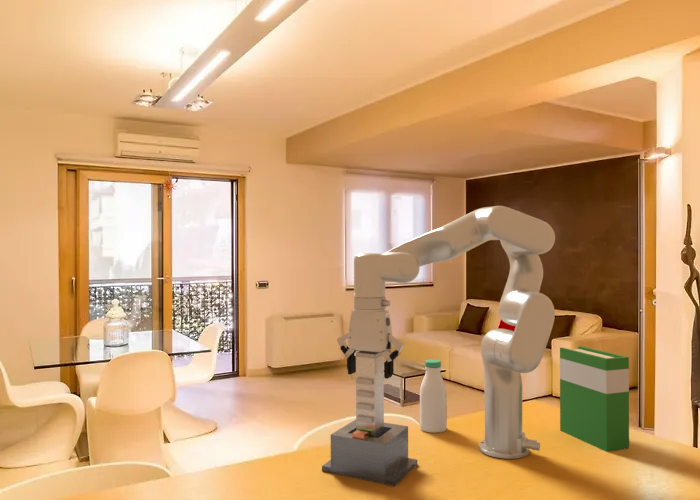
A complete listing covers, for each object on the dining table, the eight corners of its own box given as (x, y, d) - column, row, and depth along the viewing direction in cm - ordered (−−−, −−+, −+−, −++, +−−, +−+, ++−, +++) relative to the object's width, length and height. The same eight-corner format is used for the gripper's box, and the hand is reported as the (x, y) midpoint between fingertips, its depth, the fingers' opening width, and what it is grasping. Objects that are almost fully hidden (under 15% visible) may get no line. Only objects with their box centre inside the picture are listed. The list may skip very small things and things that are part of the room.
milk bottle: (446, 434, 157) (445, 363, 157) (418, 432, 159) (418, 363, 159) (447, 425, 165) (446, 358, 165) (421, 424, 166) (420, 357, 166)
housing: (417, 464, 135) (417, 423, 135) (394, 486, 123) (394, 441, 123) (349, 451, 144) (349, 413, 144) (321, 470, 132) (321, 428, 132)
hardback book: (560, 430, 160) (559, 347, 160) (581, 427, 162) (580, 346, 162) (606, 451, 143) (606, 359, 143) (629, 448, 145) (628, 357, 145)
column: (383, 441, 134) (383, 350, 134) (373, 449, 129) (373, 355, 129) (365, 438, 137) (365, 349, 137) (354, 445, 132) (354, 353, 132)
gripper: (408, 304, 133) (409, 375, 133) (345, 301, 141) (345, 368, 141) (396, 307, 126) (396, 382, 126) (330, 304, 134) (331, 374, 134)
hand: (369, 375), depth 133 cm, fingers open, 9 cm apart
